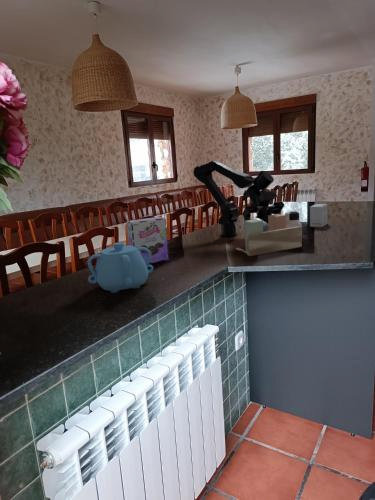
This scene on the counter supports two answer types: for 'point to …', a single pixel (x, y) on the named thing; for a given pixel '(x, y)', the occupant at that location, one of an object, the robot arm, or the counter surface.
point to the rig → (273, 241)
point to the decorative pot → (120, 267)
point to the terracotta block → (276, 222)
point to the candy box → (149, 237)
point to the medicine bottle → (292, 219)
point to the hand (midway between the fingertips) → (271, 224)
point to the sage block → (252, 228)
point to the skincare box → (318, 215)
